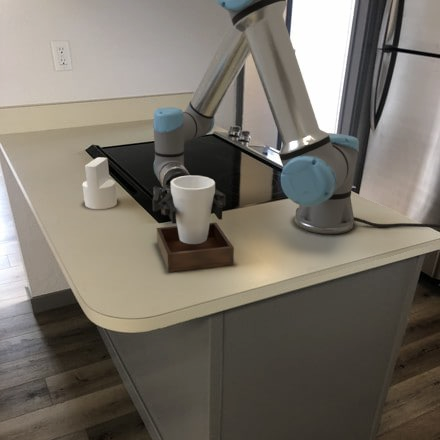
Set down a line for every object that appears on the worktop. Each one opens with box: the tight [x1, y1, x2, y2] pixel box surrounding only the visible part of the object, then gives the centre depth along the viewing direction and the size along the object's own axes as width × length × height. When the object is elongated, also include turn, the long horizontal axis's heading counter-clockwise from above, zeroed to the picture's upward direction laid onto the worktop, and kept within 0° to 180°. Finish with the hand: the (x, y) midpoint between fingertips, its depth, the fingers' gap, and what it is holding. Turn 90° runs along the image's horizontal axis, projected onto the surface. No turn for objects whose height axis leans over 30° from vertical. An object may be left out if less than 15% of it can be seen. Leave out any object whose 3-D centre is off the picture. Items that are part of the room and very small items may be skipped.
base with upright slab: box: [82, 156, 118, 210], centre depth 136 cm, size 9×9×12 cm
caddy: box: [156, 222, 235, 273], centre depth 111 cm, size 15×15×4 cm
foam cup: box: [171, 175, 216, 244], centre depth 107 cm, size 10×9×13 cm
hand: (197, 215), depth 103 cm, fingers closed on foam cup, 9 cm apart
